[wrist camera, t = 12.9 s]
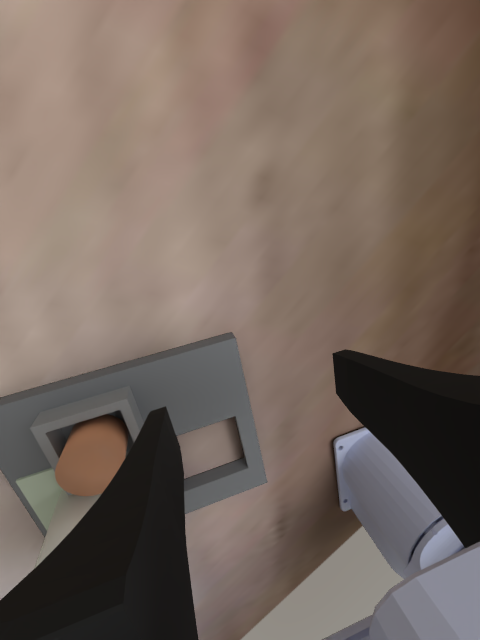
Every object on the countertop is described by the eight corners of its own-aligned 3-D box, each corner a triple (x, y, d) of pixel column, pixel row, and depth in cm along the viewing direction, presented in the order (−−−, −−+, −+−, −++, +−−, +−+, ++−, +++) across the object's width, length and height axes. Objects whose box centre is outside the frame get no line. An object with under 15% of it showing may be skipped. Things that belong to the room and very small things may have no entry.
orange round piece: (135, 448, 21) (131, 482, 18) (82, 465, 20) (69, 504, 17) (118, 406, 19) (111, 436, 17) (60, 424, 19) (43, 458, 16)
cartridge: (95, 528, 22) (76, 627, 17) (45, 508, 21) (6, 612, 15) (131, 489, 22) (124, 577, 17) (83, 467, 20) (57, 556, 15)
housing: (263, 471, 27) (274, 498, 24) (65, 546, 24) (53, 585, 21) (231, 331, 22) (241, 346, 19) (-23, 404, 19) (-52, 433, 16)
